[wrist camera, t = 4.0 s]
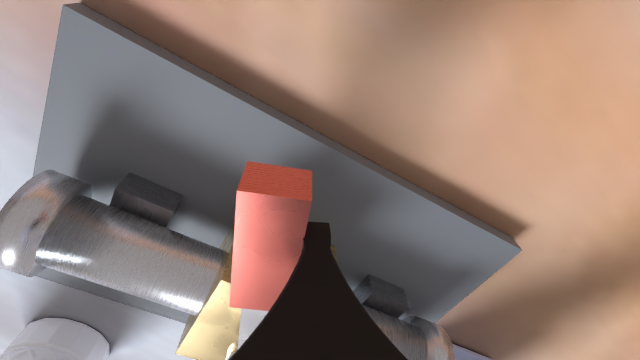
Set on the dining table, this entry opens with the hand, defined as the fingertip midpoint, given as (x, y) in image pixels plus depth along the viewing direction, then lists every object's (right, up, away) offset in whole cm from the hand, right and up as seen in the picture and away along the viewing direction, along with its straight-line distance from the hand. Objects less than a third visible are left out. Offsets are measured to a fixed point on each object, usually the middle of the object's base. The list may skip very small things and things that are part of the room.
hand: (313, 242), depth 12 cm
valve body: (-3, -3, +10) cm, 10 cm away
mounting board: (-3, -2, +11) cm, 11 cm away
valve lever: (-2, -2, +2) cm, 4 cm away
